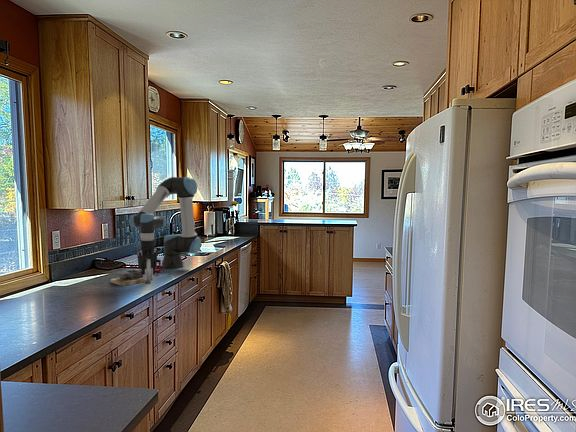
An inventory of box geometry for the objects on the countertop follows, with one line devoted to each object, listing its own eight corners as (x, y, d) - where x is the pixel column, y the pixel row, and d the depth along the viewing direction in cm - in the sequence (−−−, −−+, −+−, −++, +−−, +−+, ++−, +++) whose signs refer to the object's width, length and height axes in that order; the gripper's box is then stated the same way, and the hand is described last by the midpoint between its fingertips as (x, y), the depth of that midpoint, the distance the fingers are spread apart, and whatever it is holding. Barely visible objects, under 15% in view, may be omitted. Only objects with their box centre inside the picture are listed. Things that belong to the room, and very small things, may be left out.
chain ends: (139, 276, 243) (139, 267, 243) (152, 280, 235) (152, 270, 235) (110, 282, 227) (110, 272, 227) (124, 286, 219) (124, 275, 219)
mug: (160, 275, 249) (160, 256, 248) (138, 275, 248) (138, 256, 247) (163, 272, 259) (163, 254, 258) (142, 272, 257) (142, 254, 256)
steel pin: (148, 281, 230) (148, 258, 229) (152, 282, 228) (152, 259, 227) (143, 282, 227) (143, 259, 226) (147, 283, 225) (146, 259, 224)
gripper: (155, 238, 235) (155, 275, 236) (130, 240, 221) (131, 280, 223) (163, 239, 231) (163, 277, 232) (138, 241, 217) (139, 282, 219)
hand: (147, 279), depth 227 cm, fingers closed on steel pin, 3 cm apart
